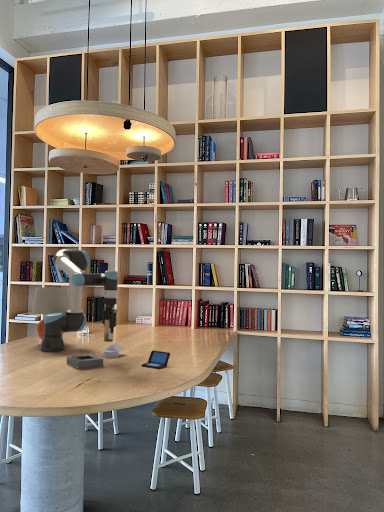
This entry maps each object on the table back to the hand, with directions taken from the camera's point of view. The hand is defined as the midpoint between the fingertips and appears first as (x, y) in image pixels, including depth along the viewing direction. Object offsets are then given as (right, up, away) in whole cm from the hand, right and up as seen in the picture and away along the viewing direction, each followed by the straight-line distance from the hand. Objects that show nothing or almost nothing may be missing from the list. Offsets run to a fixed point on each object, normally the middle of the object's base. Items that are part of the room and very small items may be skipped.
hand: (108, 337), depth 240 cm
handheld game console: (+28, -14, -12) cm, 33 cm away
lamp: (-51, -14, +49) cm, 71 cm away
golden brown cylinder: (0, -2, 0) cm, 2 cm away
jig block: (-10, -12, -14) cm, 21 cm away
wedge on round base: (0, -14, +14) cm, 20 cm away
